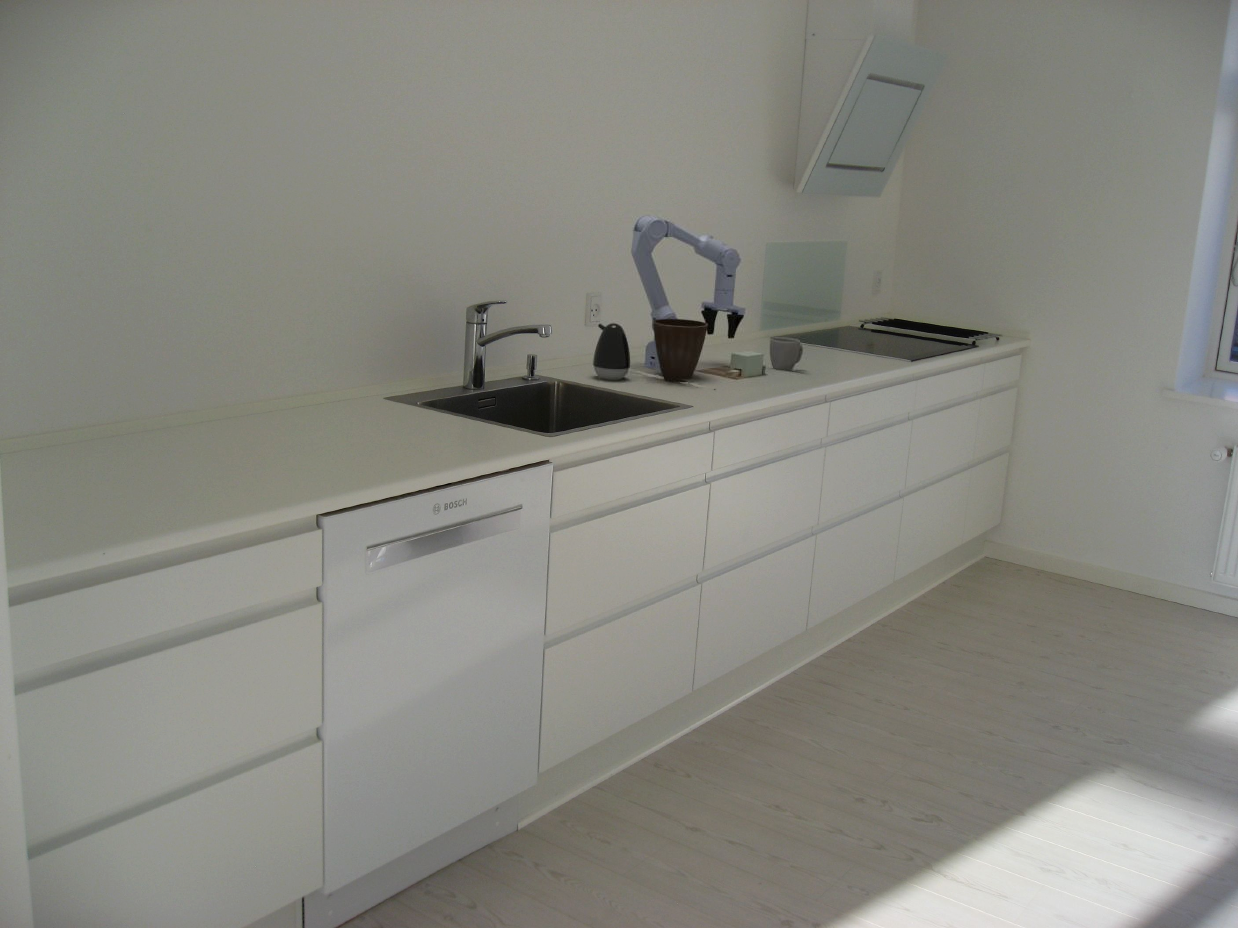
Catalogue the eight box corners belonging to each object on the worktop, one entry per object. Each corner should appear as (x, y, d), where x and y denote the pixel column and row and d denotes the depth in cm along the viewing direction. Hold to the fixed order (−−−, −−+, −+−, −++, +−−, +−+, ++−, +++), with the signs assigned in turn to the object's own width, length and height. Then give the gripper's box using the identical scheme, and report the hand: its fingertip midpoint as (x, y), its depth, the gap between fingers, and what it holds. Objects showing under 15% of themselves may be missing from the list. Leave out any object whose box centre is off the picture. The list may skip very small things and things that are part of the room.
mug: (782, 375, 328) (786, 342, 326) (761, 370, 335) (764, 338, 332) (810, 372, 336) (814, 340, 333) (789, 367, 342) (792, 336, 340)
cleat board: (735, 383, 312) (736, 370, 311) (693, 374, 321) (694, 362, 320) (767, 378, 322) (768, 366, 321) (725, 369, 332) (726, 357, 331)
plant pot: (658, 385, 302) (662, 326, 298) (642, 374, 316) (646, 317, 312) (710, 385, 306) (715, 327, 302) (692, 375, 320) (697, 319, 316)
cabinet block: (745, 377, 316) (747, 356, 314) (729, 374, 319) (731, 353, 318) (761, 374, 321) (763, 354, 320) (746, 371, 325) (748, 351, 323)
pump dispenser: (607, 373, 314) (611, 319, 310) (636, 379, 308) (640, 324, 304) (583, 377, 306) (586, 321, 303) (613, 383, 300) (616, 327, 296)
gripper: (752, 292, 323) (748, 338, 327) (713, 286, 332) (709, 331, 336) (738, 293, 318) (734, 340, 321) (698, 287, 327) (694, 333, 331)
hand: (720, 336), depth 328 cm, fingers open, 7 cm apart
